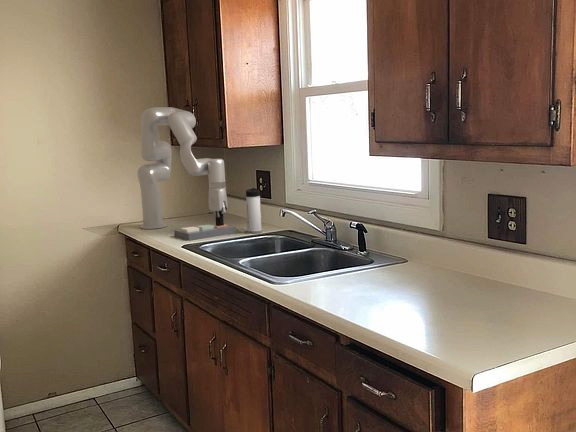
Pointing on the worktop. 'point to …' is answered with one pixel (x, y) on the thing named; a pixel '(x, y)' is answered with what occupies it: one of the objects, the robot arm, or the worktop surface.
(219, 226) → the terracotta key
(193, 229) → the cream key
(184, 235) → the keypad console
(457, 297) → the worktop surface
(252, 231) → the travel mug
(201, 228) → the sage key
